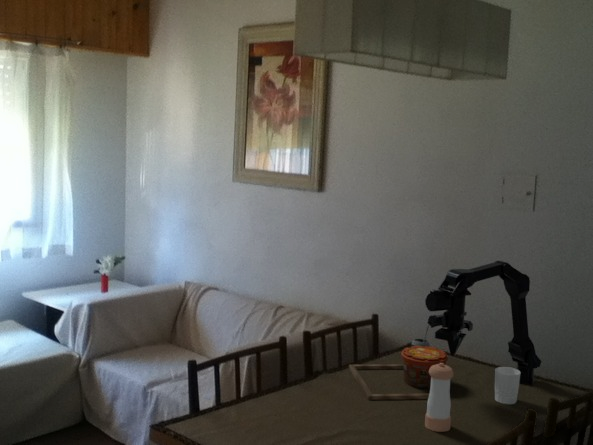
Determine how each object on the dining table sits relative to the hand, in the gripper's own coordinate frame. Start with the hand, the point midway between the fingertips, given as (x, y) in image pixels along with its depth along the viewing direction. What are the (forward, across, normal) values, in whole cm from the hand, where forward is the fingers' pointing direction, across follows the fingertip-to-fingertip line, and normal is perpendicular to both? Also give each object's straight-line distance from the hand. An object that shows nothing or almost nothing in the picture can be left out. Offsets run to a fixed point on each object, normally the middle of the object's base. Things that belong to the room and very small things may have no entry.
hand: (452, 355), depth 229 cm
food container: (+13, -4, -11) cm, 18 cm away
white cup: (+13, -5, +17) cm, 22 cm away
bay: (+13, +2, -18) cm, 23 cm away
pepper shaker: (+13, +28, +7) cm, 32 cm away
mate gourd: (+13, -24, -22) cm, 35 cm away
